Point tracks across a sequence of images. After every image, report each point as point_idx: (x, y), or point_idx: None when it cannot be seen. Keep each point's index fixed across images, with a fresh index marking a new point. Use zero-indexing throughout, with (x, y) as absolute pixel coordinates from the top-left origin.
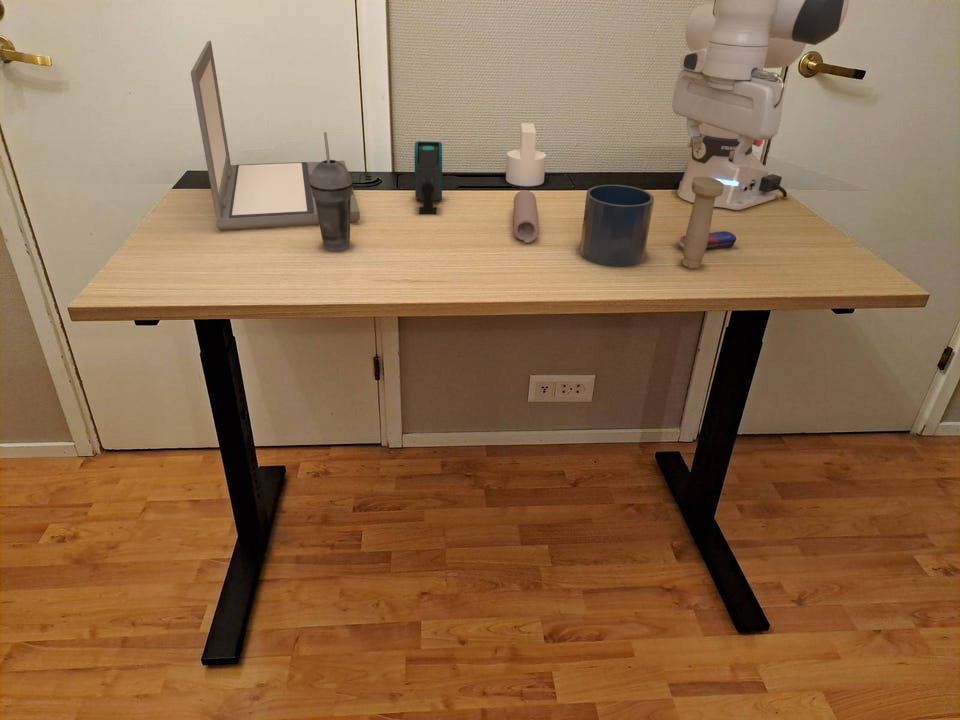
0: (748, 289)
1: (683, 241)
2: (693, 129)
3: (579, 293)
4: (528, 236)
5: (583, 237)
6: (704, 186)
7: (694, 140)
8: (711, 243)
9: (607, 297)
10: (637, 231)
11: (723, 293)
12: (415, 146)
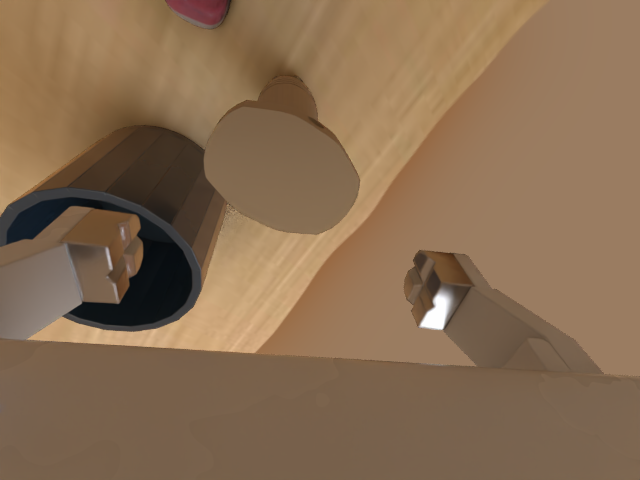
0: (433, 90)
1: (187, 12)
2: (16, 316)
3: (270, 311)
4: None
5: None
6: (307, 224)
7: (121, 293)
8: None
9: (299, 293)
10: (214, 237)
11: (405, 150)
12: None
